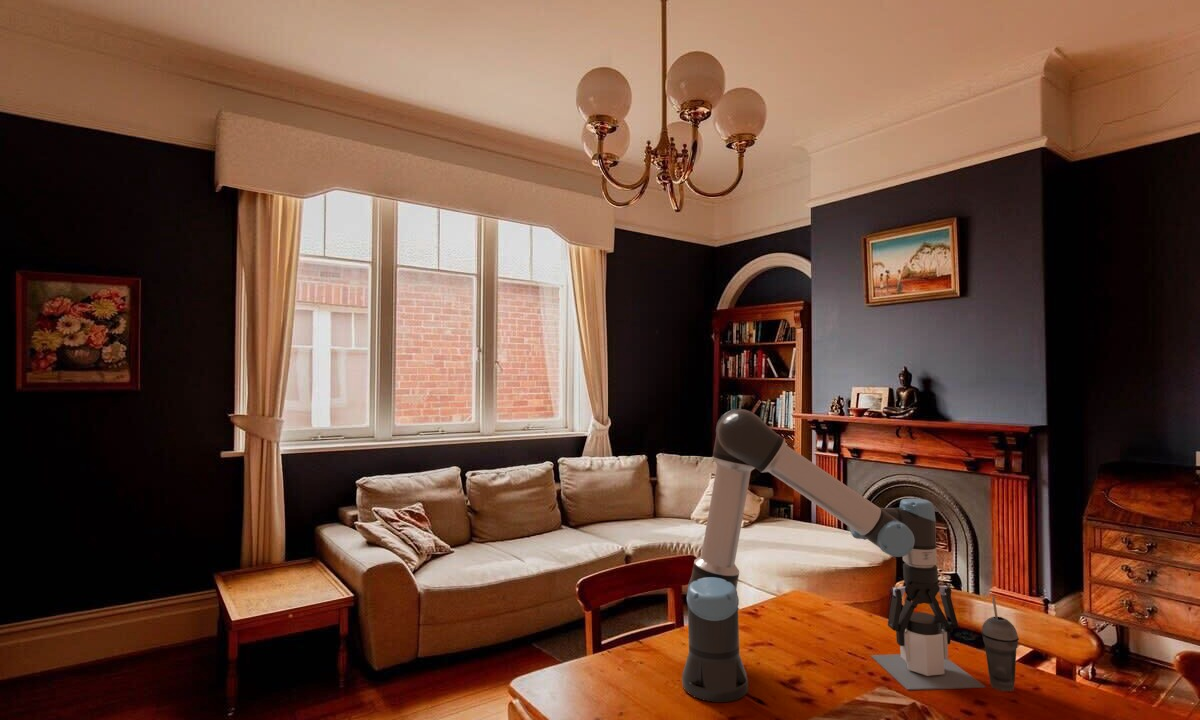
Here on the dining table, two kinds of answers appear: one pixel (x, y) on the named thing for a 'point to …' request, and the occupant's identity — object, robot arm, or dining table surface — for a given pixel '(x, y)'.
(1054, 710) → the dining table surface
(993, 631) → the beverage cup
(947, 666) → the mat
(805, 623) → the dining table surface
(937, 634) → the jar
